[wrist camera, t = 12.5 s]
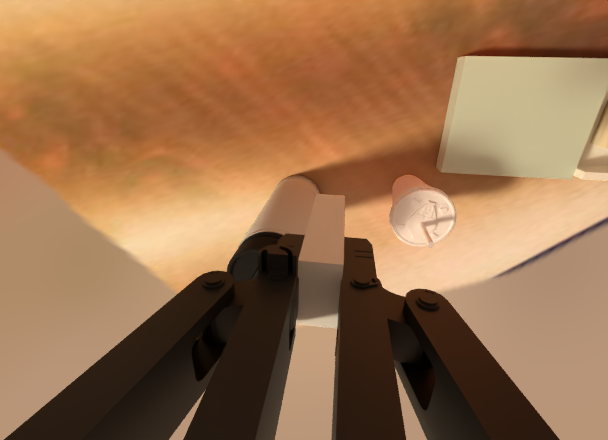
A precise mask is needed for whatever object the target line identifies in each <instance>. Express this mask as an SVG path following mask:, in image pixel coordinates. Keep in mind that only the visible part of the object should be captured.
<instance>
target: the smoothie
mask: <svg viewBox="0 0 608 440" xmlns="http://www.w3.org/2000/svg"><path fill="white" fill-rule="evenodd" d="M389 215H390V224H391V227H392V229H393V231H394V233H395V235H396V236H397V237H398V238H399V239H400V240H401V241H403V242H405V243H407V244H409V245H413V246H428V247H430V248H432V247H434V244H435V243H437V242H439V241H441V240H442V239H444V238H445V237H446V236H447V235H448V234H449V233H450V232H451V230H452V229H453V227H454V224H455V221H456V210H455V207H454V204H453V202H452V201H451V199H450V198H449V196H448V195H447V194H445V193H444V192H443V191H442V190H439V189H437V188H435V187H430V186H429V185H427V184H426V183H424V182H423V181H422V180H420V179H419V178H417V177H416V176H413V175H403V176H401V177H399V178H397V179H396V180H395V182H394V183H393V186H392V207H391V211H390V214H389Z"/></svg>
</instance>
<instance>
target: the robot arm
mask: <svg viewBox="0 0 608 440" xmlns="http://www.w3.org/2000/svg"><path fill="white" fill-rule="evenodd" d="M344 226H345V195H330V194H316V196H315V200H314V204H313V207H312V211H311V215H310V218H309V222H308V226H307V229H306V233H305V235H300V234H287V233H286V234H285V235H283V236H282V237H281V238H279V240H278V243H277V245H269V246H265V247H263V248H261V249H260V250H259V251H258V252H257V254H258V275H257V277H256V278H255V279H252V280H247V281H239V282H234V277H233V276H232V275H231V274H230V273H227V272H224V271H212V272H208V273H205V274H202V275H201V276H199V277H198V278H196V279H195V280H194V281H193V282H192V283H190V284H189V285H188V286H187V287H186V288H184V289H183V290H182V291H181V292H180V293H178V294H177V295H176V296H175V297H174V298H173V299H171V300H170V301H169V302H168V303H166V305H164V306H163V307H162V308H160V310H158V311H157V312H156V313H155V314H153V315H152V316H151V317H150V318H149V319H147V320H146V321H145V322H144V323H143V324H141V325H140V326H139V327H138V328H137V329H136V330H134V331H133V332H132V333H131V334H129V335H128V336H127V337H126V338H125V339H124V340H123V341H121V342H120V343H119V344H118V345H116V346H115V347H114V348H113V349H112V350H110V351H109V352H108V353H107V354H106V355H104V356H103V357H102V358H101V359H100V360H98V361H97V362H96V363H95V364H94V365H93V366H91V367H90V368H89V369H88V370H86V372H84V373H83V374H82V375H81V376H79V377H78V378H77V379H76V380H75V381H73V382H72V383H71V384H70V385H69V386H67V387H66V388H65V389H64V390H63V391H62V392H60V393H59V394H58V395H57V396H56V397H54V398H53V399H52V400H51V401H49V402H48V403H47V404H46V405H45V406H44V407H42V408H41V409H40V410H39V411H38V412H36V413H35V414H34V415H33V416H32V417H30V418H29V419H28V420H27V421H26V422H24V423H23V424H22V425H21V426H20V427H18V428H17V429H16V430H15V431H14V432H13V433H11V434H10V435H9V436H8V437H7V438H5V439H4V440H169V438H170V437H171V436H172V434H173V433H174V432H175V430H176V429H177V428H178V426H179V425H180V424H181V422H182V421H183V419H184V418H185V417H186V415H187V414H188V413H189V411H190V410H191V409H192V407H193V406H194V405H195V403H196V402H197V400H198V399H199V398H200V396H201V395H202V394H203V392H204V391H205V393H204V395H203V397H202V400H201V402H200V404H199V406H198V408H197V410H196V413H195V415H194V417H193V420H192V422H191V424H190V426H189V428H188V431H187V433H186V435H185V437H184V439H183V440H275V435H276V429H277V425H278V420H279V414H280V410H281V405H282V400H283V394H284V389H285V384H286V379H287V374H288V369H289V364H290V359H291V354H292V349H293V344H294V339H295V326H296V320H297V324H301V325H310V326H319V327H328V328H337V338H336V349H335V356H336V357H335V379H334V399H333V420H332V440H406V436H405V430H404V423H403V416H402V410H401V404H400V397H399V391H398V385H397V379H396V372H395V368H396V370H397V372H398V375H399V377H400V379H401V381H402V383H403V386H404V388H405V390H406V393H407V395H408V397H409V400H410V402H411V404H412V406H413V409H414V411H415V413H416V415H417V418H418V419H419V422H420V424H421V426H422V429H423V431H424V433H425V436H426V438H427V440H559V438H558V437H557V436H556V434H555V433H554V432H553V431H552V430H551V428H550V427H549V426H548V425H547V423H546V422H545V421H544V420H543V419H542V417H541V416H540V415H539V413H538V412H537V411H536V410H535V408H534V407H533V406H532V405H531V403H530V402H529V401H528V400H527V399H526V397H525V396H524V395H523V393H521V391H520V390H519V388H518V387H517V386H516V385H515V384H514V382H513V381H512V380H511V379H510V377H509V376H508V375H507V374H506V372H505V371H504V370H503V369H502V367H501V366H500V365H499V364H498V362H497V361H496V360H495V359H494V357H493V356H492V355H491V354H490V353H489V351H488V350H487V349H486V347H485V346H484V345H483V344H482V343H481V341H480V340H479V339H478V338H477V336H476V335H475V334H474V333H473V331H472V330H471V329H470V328H469V327H468V325H467V324H466V323H465V321H464V320H463V319H462V318H461V316H460V315H459V314H458V313H457V312H456V310H455V309H454V308H453V306H452V305H451V304H450V303H449V302H448V300H446V299H445V298H444V297H443V296H442V295H440V294H438V293H436V292H434V291H431V290H427V289H414V290H411V291H409V292H408V293H407V294H406V297H403V296H400V295H397V294H394V293H391V292H389V291H387V290H386V289H384V288H383V287H382V284H381V282H380V280H379V279H378V278H377V275H376V269H375V262H374V255H373V248H372V244H371V243H370V242H369V241H368V240H367V239H361V238H348V237H344Z"/></svg>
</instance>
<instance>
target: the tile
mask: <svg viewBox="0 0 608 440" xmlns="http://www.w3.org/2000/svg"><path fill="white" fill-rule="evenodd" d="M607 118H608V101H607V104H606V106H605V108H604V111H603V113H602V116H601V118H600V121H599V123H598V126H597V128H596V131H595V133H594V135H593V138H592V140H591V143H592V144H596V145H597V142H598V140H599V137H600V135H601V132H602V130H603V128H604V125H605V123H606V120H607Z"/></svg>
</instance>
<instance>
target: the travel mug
mask: <svg viewBox="0 0 608 440" xmlns="http://www.w3.org/2000/svg"><path fill="white" fill-rule="evenodd" d="M316 194H320V191H319V189H318V187H317V185H316V184H315V183H314V182H313V181H312V180H310V179H309V178H307V177H304V176H301V175H293V176H289V177H287V178H285V179H283V180H282V181H281V182H280V183H279V185H278V186H277V187H276V189H275V191H274V192H273V194H272V195H271V197H270V198H269V200H268V201H267V203H266V205H265V206H264V208H263V209H262V211H261V212H260V214H259V215H258V217H257V219H256V220H255V222H254V223H253V225H252V226H251V228H250V229H249V231H248V233H247V234H246V236H245V237H244V239H243V240H242V242H241V243H240V245H239V247H238V250H237V251H236V252H235V254H234V256H233V257H232V259H231V260H230V262H229V264H228V267H227V273H230V274H231V275H232V276H233V277H234V282H239V281H247V280H252V279H255V278H256V277H257V275H258V254H257V252H258V251H259V250H260V249H261V248H263V247H265V246H269V245H277V243H278V240H279V238H281V237H282V236H283V235H285V234H286V233H287V234H300V235H305V233H306V229H307V226H308V222H309V218H310V215H311V211H312V207H313V204H314V200H315V196H316Z"/></svg>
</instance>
